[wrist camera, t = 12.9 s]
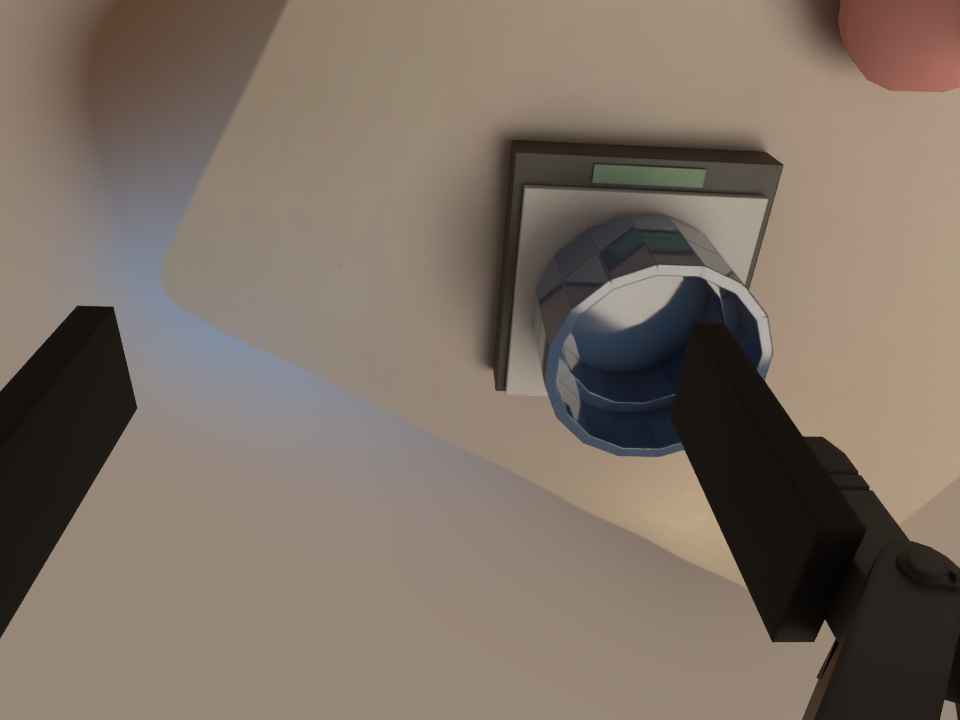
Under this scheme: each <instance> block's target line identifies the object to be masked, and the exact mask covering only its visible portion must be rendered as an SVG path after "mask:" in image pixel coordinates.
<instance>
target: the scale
mask: <svg viewBox="0 0 960 720" xmlns="http://www.w3.org/2000/svg"><path fill="white" fill-rule="evenodd" d="M782 169H783V164H782V163H780V162H779V161H778V160H776V159H775V158H773V157H772V156H771V155H769V154H768V153H766V152H746V151H726V150H705V149H685V148H665V147H644V146H624V145H603V144H583V143H562V142H542V141H522V140H512V146H511V159H510V171H509V184H508V196H507V209H506V221H505V234H504V246H503V259H502V272H501V284H500V297H499V309H498V322H497V334H496V347H495V359H494V379H495V389H496V391H506V395H527V396H548V393H547V390H546V388H545V385H544V380H543V375H542V370H541V366H540V361H539V356H538V351H537V346H536V341H535V336H534V331H533V327H532V317H533V308H534V299H535V290H536V287H537V285H538V283H539V282H540V280H541V278H542V276H543V275H544V273H545V271H546V269H547V268H548V266H549V264H550V262H551V261H552V259H553V257H554V256H555V254H557V253H558V252H559V251H560V250H561V249H563V248H564V247H565V246H566V245H568V244H569V243H570V242H571V241H573V240H574V239H575V238H576V237H578V236H579V235H580V234H581V233H583V232H584V231H585V230H586V229H588V228H591V227H594V226H597V225H600V224H603V223H606V222H609V221H612V220H615V219H618V218H621V217H624V216H628V215H637V216H660V217H669V218H672V219H674V220H676V221H678V222H680V223H682V224H684V225H686V226H689V227H691V228H693V229H695V230H697V231H699V232H701V233H702V234H704V235H705V236H706V238H707V239H708V240H709V241H710V242H711V244H712V245H713V246H714V247H715V249H716V250H717V251H718V252H719V254H720V255H721V256H722V257H723V259H724V260H725V261H726V262H727V264H728V265H729V266H730V267H731V269H732V270H733V271H734V272H735V273H736V275H737V276H738V277H739V278H740V280H741V281H742V282H743V283H744V285H745V286H746V287H747V289H748V290H749V287H750V284H751V280H752V277H753V273H754V269H755V266H756V262H757V259H758V255H759V251H760V248H761V244H762V241H763V237H764V233H765V230H766V226H767V223H768V219H769V215H770V212H771V208H772V205H773V201H774V197H775V194H776V190H777V187H778V183H779V179H780V176H781V172H782Z"/></svg>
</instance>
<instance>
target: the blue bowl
mask: <svg viewBox="0 0 960 720" xmlns="http://www.w3.org/2000/svg"><path fill="white" fill-rule="evenodd" d="M693 323H724V324H726V326H727V327H728V329H729V330H730V332H731V333H732V335H733V336H734V337H735V339H736V340H737V342H738V343H739V345H740V346H741V348H742V349H743V351H744V352H745V353H746V355H747V356H748V358H749V359H750V361H751V362H752V364H753V365H754V366H755V368H756V369H757V371H758V372H759V374H760V375H761V377H762V378H763V379H764V381H765V378H766V375H767V372H768V368H769V365H770V362H771V359H772V356H773V346H772V339H771V333H770V326H769V320H768V315H767V313H766V312H765V311H764V309H763V308H762V307H761V305H760V304H759V303H758V301H757V300H756V299H755V298H754V296H753V295H752V294H751V292H750V291H749V290H748V289H747V287H746V286H745V285H744V283H743V282H742V281H741V280H740V278H739V277H738V276H737V275H736V273H735V272H734V271H733V270H732V269H731V267H730V266H729V265H728V264H727V262H726V261H725V260H724V259H723V257H722V256H721V255H720V254H719V252H718V251H717V250H716V249H715V247H714V246H713V245H712V244H711V242H710V241H709V240H708V239H707V238H706V236H705V235H704V234H702V233H701V232H699V231H697V230H695V229H693V228H691V227H689V226H686V225H684V224H682V223H680V222H678V221H676V220H674V219H672V218H669V217H660V216H637V215H628V216H624V217H621V218H618V219H615V220H612V221H609V222H606V223H603V224H600V225H597V226H594V227H591V228H588V229H586V230H585V231H584V232H583V233H581V234H580V235H579V236H578V237H576V238H575V239H574V240H573V241H571V242H570V243H569V244H568V245H566V246H565V247H564V248H563V249H561V250H560V251H559V252H558V253H557V254H555V256H554V257H553V259H552V261H551V262H550V264H549V266H548V268H547V269H546V271H545V273H544V275H543V276H542V278H541V280H540V282H539V283H538V285H537V287H536V290H535V299H534V308H533V317H532V327H533V331H534V336H535V341H536V346H537V351H538V356H539V361H540V366H541V370H542V375H543V380H544V385H545V388H546V390H547V393H548V396H549V399H550V401H551V404H552V407H553V410H554V412H555V415H556V417H557V419H558V420H560V421H561V422H562V423H563V424H564V425H565V426H566V427H567V428H568V429H569V430H570V431H571V432H572V433H573V434H574V435H575V436H576V437H577V438H578V439H579V440H581V441H582V442H583V443H585V444H588V445H590V446H593V447H596V448H598V449H601V450H604V451H606V452H609V453H612V454H614V455H617V456H641V457H659V456H664V455H667V454H671V453H674V452H678V451H681V450H684V447H683V445H682V443H681V441H680V439H679V436H678V434H677V432H676V430H675V428H674V425H673V423H672V421H671V419H670V415H671V411H672V407H673V403H674V398H675V394H676V390H677V386H678V382H679V378H680V374H681V370H682V366H683V362H684V358H685V354H686V350H687V345H688V341H689V337H690V333H691V329H692V325H693Z"/></svg>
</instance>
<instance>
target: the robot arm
mask: <svg viewBox="0 0 960 720" xmlns="http://www.w3.org/2000/svg"><path fill="white" fill-rule="evenodd" d="M136 409H137V405H136V401H135V396H134V392H133V388H132V384H131V380H130V375H129V371H128V367H127V362H126V359H125V354H124V350H123V346H122V342H121V337H120V333H119V329H118V324H117V320H116V316H115V312H114V308H113V307H100V306H77V307H76V308H75V309H74V310H73V311H72V312H71V313H70V315H69V316H68V317H67V318H66V319H65V320H64V321H63V322H62V323H61V325H60V326H59V327H58V328H57V329H56V330H55V331H54V332H53V333H52V335H51V336H50V337H49V338H48V339H47V340H46V341H45V342H44V344H43V345H42V346H41V347H40V348H39V349H38V350H37V351H36V352H35V354H34V355H33V356H32V357H31V358H30V359H29V360H28V361H27V362H26V364H25V365H24V366H23V367H22V368H21V369H20V370H19V371H18V372H17V374H16V375H15V376H14V377H13V378H12V379H11V380H10V381H9V382H8V384H7V385H6V386H5V387H4V388H3V389H2V390H1V391H0V638H1V636H2V635H3V633H4V631H5V629H6V628H7V626H8V624H9V622H10V621H11V619H12V618H13V616H14V614H15V613H16V611H17V609H18V608H19V606H20V604H21V603H22V601H23V599H24V598H25V596H26V594H27V593H28V591H29V589H30V588H31V586H32V584H33V582H34V581H35V579H36V577H37V576H38V574H39V572H40V571H41V569H42V567H43V566H44V564H45V562H46V561H47V559H48V557H49V555H50V554H51V552H52V550H53V549H54V547H55V545H56V544H57V542H58V541H59V539H60V537H61V535H62V534H63V532H64V530H65V529H66V527H67V525H68V524H69V522H70V520H71V519H72V517H73V515H74V514H75V512H76V510H77V509H78V507H79V505H80V503H81V502H82V500H83V499H84V497H85V495H86V493H87V492H88V490H89V488H90V487H91V485H92V483H93V481H94V480H95V478H96V477H97V475H98V473H99V472H100V470H101V468H102V466H103V465H104V463H105V462H106V460H107V458H108V457H109V455H110V453H111V451H112V450H113V448H114V446H115V445H116V443H117V441H118V440H119V438H120V436H121V435H122V433H123V431H124V430H125V428H126V426H127V425H128V423H129V421H130V420H131V418H132V416H133V414H134V413H135V411H136ZM670 419H671V421H672V423H673V425H674V428H675V430H676V432H677V434H678V436H679V439H680V441H681V443H682V445H683V447H684V450H685V452H686V454H687V456H688V458H689V460H690V463H691V465H692V467H693V469H694V471H695V474H696V476H697V478H698V480H699V482H700V485H701V487H702V489H703V491H704V493H705V496H706V498H707V500H708V502H709V504H710V507H711V509H712V511H713V513H714V515H715V517H716V520H717V522H718V524H719V526H720V528H721V531H722V533H723V535H724V537H725V539H726V542H727V544H728V546H729V548H730V550H731V553H732V555H733V557H734V559H735V561H736V563H737V566H738V568H739V570H740V572H741V574H742V577H743V579H744V581H745V583H746V585H747V588H748V590H749V592H750V594H751V596H752V599H753V601H754V603H755V605H756V607H757V610H758V612H759V614H760V616H761V618H762V620H763V623H764V625H765V627H766V629H767V631H768V633H769V636H770V638H771V640H772V642H814V641H815V639H816V637H817V635H818V633H819V630H820V628H821V626H822V624H823V622H824V620H826V621H827V623H828V625H829V627H830V629H831V631H832V633H833V634H834V636H835V638H836V639H835V642H834V643H833V645H832V648H831V649H830V652H829V654H828V655H827V658H826V660H825V662H824V664H823V666H822V668H821V670H820V672H819V674H818V676H817V678H818V682H817V684H816V687H815V689H814V692H813V694H812V696H811V699H810V701H809V704H808V706H807V709H806V711H805V714H804V716H803V719H802V720H940V716H941V712H942V708H943V703H944V700H948V701H951V702H955V704H956V711H957V718H958V720H960V568H959V567H958V566H957V565H955V564H954V563H953V562H952V561H951V560H950V559H949V558H947V557H946V556H945V555H943V554H941V553H940V552H938V551H936V550H934V549H932V548H931V547H928V546H925V545H922V544H919V543H916V542H913V541H910V540H909V539H908V538H907V536H906V535H905V534H904V532H903V531H902V530H901V528H900V527H899V526H898V524H897V523H896V522H895V520H894V519H893V518H892V516H891V515H890V514H889V512H888V511H887V510H886V508H885V507H884V506H883V504H882V503H881V502H880V500H879V499H878V497H877V496H876V495H875V493H874V492H873V491H870V490H869V485H868V484H867V483H866V481H865V480H864V479H863V477H862V476H861V475H858V471H857V469H856V468H855V467H854V465H853V464H852V463H851V461H850V460H849V459H848V457H847V456H846V455H845V453H843V452H842V451H841V450H839V449H838V448H837V447H835V446H834V445H833V444H831V443H830V442H829V441H827V440H826V439H825V438H823V437H803V436H802V434H801V433H800V432H799V430H798V429H797V427H796V426H795V424H794V423H793V421H792V420H791V419H790V417H789V416H788V414H787V413H786V411H785V410H784V408H783V407H782V406H781V404H780V403H779V401H778V400H777V398H776V397H775V395H774V394H773V392H772V391H771V390H770V388H769V387H768V385H767V384H766V382H765V381H764V379H763V378H762V377H761V375H760V374H759V372H758V371H757V369H756V368H755V366H754V365H753V364H752V362H751V361H750V359H749V358H748V356H747V355H746V353H745V352H744V351H743V349H742V348H741V346H740V345H739V343H738V342H737V340H736V339H735V337H734V336H733V335H732V333H731V332H730V330H729V329H728V327H727V326H726V324H724V323H693V325H692V329H691V333H690V337H689V341H688V345H687V350H686V354H685V358H684V362H683V366H682V370H681V374H680V378H679V382H678V386H677V390H676V394H675V398H674V403H673V407H672V411H671V415H670Z"/></svg>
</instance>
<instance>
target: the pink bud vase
mask: <svg viewBox="0 0 960 720" xmlns="http://www.w3.org/2000/svg"><path fill="white" fill-rule="evenodd" d="M838 25H839V29H840V33H841V37H842V41H843V45H844V47H845V49H846V50H847V52H848V54H849V55H850V57H851V59H852V61H853V62H854V63H855V64H856V66H857V67H858V68H859V70H860V71H861V72H862V73H863V75H864V76H865V77H866V78H867V80H869V81H871V82H873V83H875V84H877V85H879V86H881V87H883V88H886V89H888V90H890V91H925V92H945V91H948V90H951V89H954V88H958V87H960V0H841V1H840V11H839V20H838Z"/></svg>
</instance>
